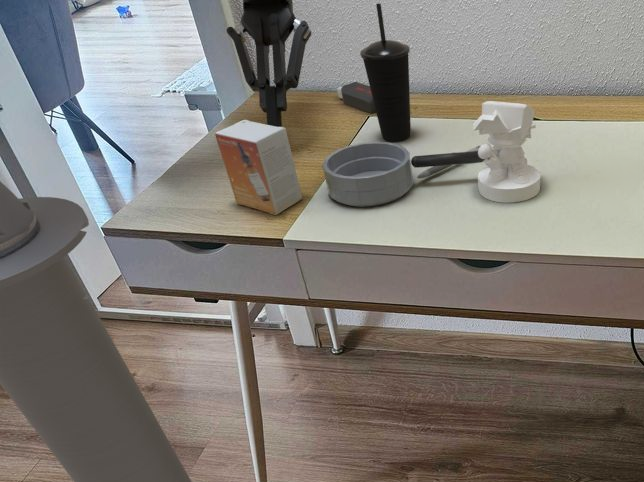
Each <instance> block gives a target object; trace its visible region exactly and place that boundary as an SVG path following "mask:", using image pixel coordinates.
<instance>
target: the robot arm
mask: <svg viewBox="0 0 644 482" xmlns="http://www.w3.org/2000/svg"><path fill="white" fill-rule="evenodd" d="M293 5H294V4H293V0H242V9H243V12H242V15H241V17H240V23H239V24H237V26H235V27H233V26H228V27H227V28H226V33H227V35H228V36H229V37H230V39H231V41H232V42H233V45H234V47H235V50H236V53H237V56H238V57H237V58H238V60H239V63H240V66H241V70H242V73H243V76H244V79H245V80H244V81H245V83H246V84H247V86H248V87H249V88H250V90H251V91H252V92H258V98H259V99H258V100H259V101H258V102H259V107H260V109H261V110H262V112H263V113H265V114H266V115H265V117H266V125H271V126H276V127H283V121H282V112H287V110H288V102H287V92H288V90H290V89H297V88H298V87H299V83H300V82H299V81H300V78H301V77H300V76H301V71H302V67H303V61H304V55H305V50H306V45H307V43H308V41H309V39H310V38H311V36H312V31H311V27H310V26H309V23H308V22H307V21H306V20H301V21H300V20H298V19H297V17H296V16H295V13H294V6H293ZM292 32H293V33H294V34H293V37H292V42H291V48H290V53H289V56H288V57H289V58H288V63H287V66H286V42H287V40H288V39H289V37H290V36H291V34H292ZM246 33H247V34H248V35H249V36H250V38H251V39H252V40H253V41H254V45H255V58H256V59H255V61H256V73H255V70H254V67H253V63H252V59H251V56H250V54H249V50H248V48H247V46H246V44H245V43H246V42H247V41H246V40H247V37H246ZM270 46H271V47H272V48H271V49H272V65H273V66H272V67H273V79H272V82H273V84H275V85H271V72H270ZM286 67H287V68H286ZM19 199H20V198H19V197H17V195H15V193H14V192H13V191H11V190H10V188H9V187H7V186H6V185H5V184H4V182H2V181H1V180H0V259H1V258H3V257H6V256H8V255H10V254H12V253H14V252H16V251H17V250H19V249H21V248H22V247H24V246H25V245H27V244H28V243H29V242H30V241H32V240H33V239H34V238H35V236H36V235H37V234H38V232H39V230H40V223H39V221H38V219H37V217H36V216H35V214H34V212H33V211H32V210H31V208H30V206H29V205H28V203H27V202H21V201H20V200H19Z"/></svg>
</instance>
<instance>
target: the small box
mask: <svg viewBox="0 0 644 482" xmlns="http://www.w3.org/2000/svg"><path fill="white" fill-rule="evenodd" d="M214 136H215V139H216V142H217V145H218V149H219V152H220V156H221V158H222V161H223V165H224V168H225V171H226V174H227V177H228V181H229V185H230V186H231V190H232V193H233V196H234V199H235V202H236V204H238V205H241V206H245V207H248V208H251V209H252V208H253V209H255V210H258V211H261V212H265V213H268V214H271V215H272V216H277V215H279V214H281V213H282V212H283V211H285V210H286V209H288V208H290V207H292V206H293V205H295V204H297V203H298V202H299V201H301V200H302V199H303V194H302V191H301V186H300V181H299V178H298V173H297V169H296V166H295V161H294V157H293V153H292V149H291V145H290V141H289V137H288V133H287V129H286V127H283V126H282V127H276V126H271V125H267V123H266V124H265V123H261V122H256V121H251V120H249V119H243V120H240V121H238V122H235V123H233V124H231V125H229V126H227V127H225V128H223V129H220V130H218V131H216V132H215V133H214Z"/></svg>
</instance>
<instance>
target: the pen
mask: <svg viewBox="0 0 644 482" xmlns="http://www.w3.org/2000/svg"><path fill="white" fill-rule="evenodd" d="M481 145H482V144H480V145H478V146H475V147H473V148H470V149H469V150H467V151H465V152H471V151H478V149H479V147H480V146H481ZM452 166H453V165H444V166H432V167H428V168H427V169H425V170H424V171H422V172H420V173H419V174H418V175H417V177H416V179H419V180H421V179H425V178H428V177H431V176H433V175H435V174H438V173H440V172H441V171H443V170H445V169H448V168H450V167H452Z"/></svg>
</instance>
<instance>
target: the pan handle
mask: <svg viewBox="0 0 644 482" xmlns="http://www.w3.org/2000/svg"><path fill="white" fill-rule="evenodd" d="M410 160H411V167H413V168H418V169H419V168H431V167H433V166H444V165H452V166H453V165H467V164H481V163H484V161H485V159H481V158H480V157H479V155H478V151H471V152H466V151H460V152H459V151H458V152H448V153H435V154H424V155H415V156H414V155H413V157H411V158H410Z"/></svg>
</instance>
